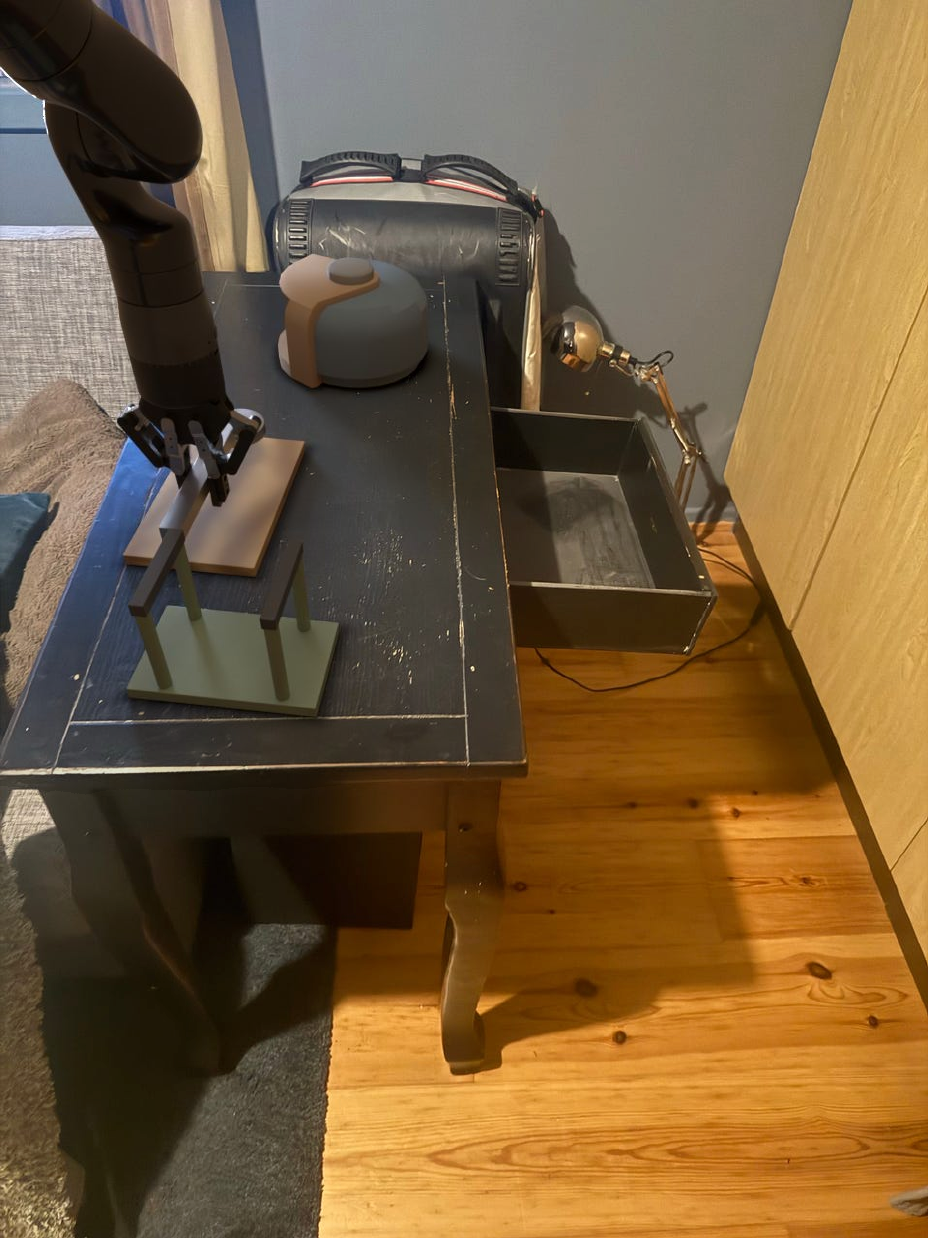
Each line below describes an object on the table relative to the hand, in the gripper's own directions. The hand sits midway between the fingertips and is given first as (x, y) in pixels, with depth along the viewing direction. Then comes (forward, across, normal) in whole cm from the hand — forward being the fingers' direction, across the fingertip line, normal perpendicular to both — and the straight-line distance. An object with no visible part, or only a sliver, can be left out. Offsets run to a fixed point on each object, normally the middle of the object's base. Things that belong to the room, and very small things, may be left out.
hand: (207, 500), depth 83 cm
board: (+3, 0, +4) cm, 5 cm away
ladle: (-1, 0, +3) cm, 3 cm away
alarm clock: (+4, +8, +38) cm, 39 cm away
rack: (+3, +8, -18) cm, 20 cm away
